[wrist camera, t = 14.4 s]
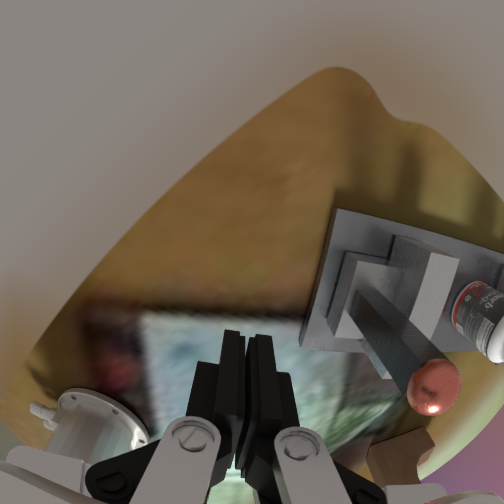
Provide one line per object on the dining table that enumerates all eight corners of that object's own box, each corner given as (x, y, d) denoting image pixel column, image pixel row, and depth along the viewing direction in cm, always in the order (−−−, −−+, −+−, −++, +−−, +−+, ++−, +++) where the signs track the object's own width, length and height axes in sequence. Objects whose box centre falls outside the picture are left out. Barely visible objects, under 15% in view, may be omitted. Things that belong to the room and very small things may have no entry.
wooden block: (424, 424, 30) (474, 511, 13) (417, 441, 31) (460, 523, 14) (369, 444, 30) (409, 546, 13) (365, 460, 31) (398, 553, 14)
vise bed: (298, 341, 24) (312, 386, 19) (332, 206, 21) (364, 219, 15) (480, 345, 27) (507, 369, 21) (513, 257, 23) (547, 273, 17)
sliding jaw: (319, 342, 23) (374, 475, 10) (352, 225, 20) (480, 299, 7) (387, 346, 23) (462, 450, 10) (423, 242, 21) (546, 306, 8)
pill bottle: (488, 275, 22) (551, 312, 13) (479, 322, 24) (532, 366, 14) (454, 284, 22) (522, 330, 13) (444, 334, 24) (499, 387, 14)
